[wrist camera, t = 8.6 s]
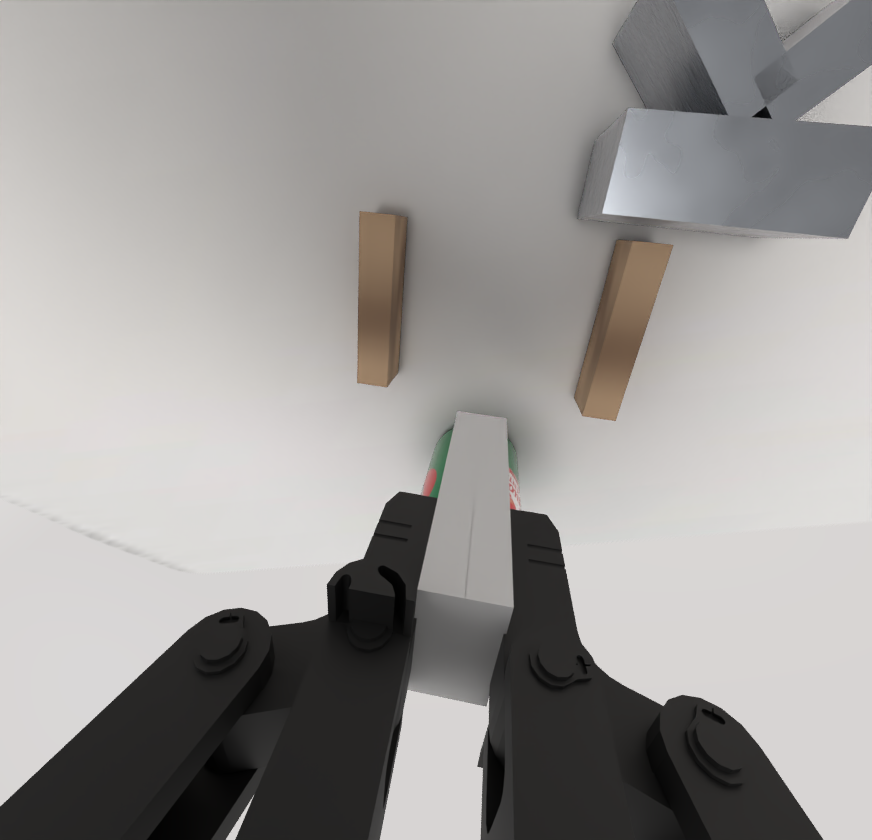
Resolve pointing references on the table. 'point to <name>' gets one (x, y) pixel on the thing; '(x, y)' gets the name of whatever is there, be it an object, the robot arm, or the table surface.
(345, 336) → the table surface
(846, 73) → the v block
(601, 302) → the channel
